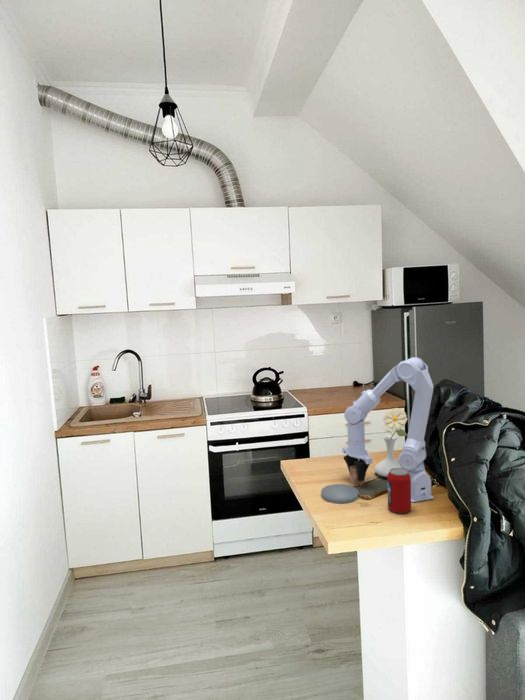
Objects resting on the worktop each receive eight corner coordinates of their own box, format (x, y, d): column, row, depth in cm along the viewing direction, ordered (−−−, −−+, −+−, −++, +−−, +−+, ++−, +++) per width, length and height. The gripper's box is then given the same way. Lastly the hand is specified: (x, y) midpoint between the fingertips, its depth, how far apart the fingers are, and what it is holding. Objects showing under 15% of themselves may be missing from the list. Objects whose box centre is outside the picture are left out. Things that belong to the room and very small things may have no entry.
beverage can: (393, 503, 148) (392, 465, 147) (414, 508, 144) (414, 469, 143) (384, 511, 143) (383, 472, 142) (405, 516, 139) (405, 476, 137)
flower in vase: (367, 474, 172) (366, 407, 170) (387, 466, 179) (386, 401, 177) (398, 484, 162) (396, 412, 160) (417, 476, 169) (416, 406, 167)
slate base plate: (365, 499, 151) (365, 495, 151) (330, 506, 148) (330, 501, 148) (348, 486, 163) (348, 482, 163) (315, 491, 159) (315, 487, 159)
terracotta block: (364, 484, 164) (364, 467, 163) (355, 486, 163) (354, 469, 162) (359, 481, 167) (359, 464, 166) (350, 482, 166) (349, 465, 165)
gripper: (379, 443, 158) (380, 482, 160) (353, 433, 171) (354, 469, 173) (361, 446, 155) (362, 487, 157) (336, 436, 168) (338, 473, 170)
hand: (357, 478), depth 165 cm, fingers closed on terracotta block, 4 cm apart
